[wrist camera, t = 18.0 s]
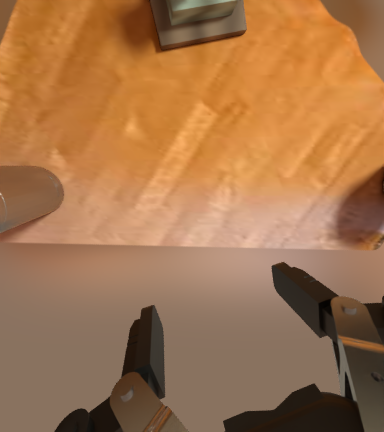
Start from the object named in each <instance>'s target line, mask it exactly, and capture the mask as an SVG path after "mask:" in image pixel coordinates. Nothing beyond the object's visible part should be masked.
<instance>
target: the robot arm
mask: <svg viewBox="0 0 384 432" xmlns="http://www.w3.org/2000/svg"><path fill="white" fill-rule="evenodd" d="M63 196H64V193H63V188H62V185H61V183H60V181H59V180H58V179H57V177H56V176H55V175H54V174H52V173H51V172H50V171H48V170H46V169H43V168H40V167H36V166H0V233H2V232H4V231H7V230H9V229H12V228H14V227H16V226H19V225H21V224H24V223H26V222H29V221H31V220H33V219H36V218H38V217H41V216H43V215H46V214H48V213H50V212H52V211H54V210H56V209H57V208H58V207H59V206H60V205H61V203H62V201H63ZM272 274H273V282H274V287H275V289H276V291H277V293H278V294H279V295H280V296H281V297H282V298H283V299H284V300H285V301H286V302H287V303H288V305H289V306H290V307H291V308H292V309H293V310H294V311H295V312H296V313H297V314H298V315H299V316H300V317H301V318H302V320H304V322H305V323H306V324H307V325H308V326H309V327H310V328H311V329H312V330H313V331H314V332H315V333H316V334H317V335H318V336H319V337H320V338H322V337H324V336H327V335H328V336H329V337H330V338H331V342H332V348H333V353H334V358H335V363H336V368H337V374H338V379H339V385H340V394H341V396H340V395H337V394H333V393H328V392H320V391H319V389H318V388H317V386H316V385H315V384H311V385H309V386H307V387H304V388H302V389H299V390H297V391H294V392H292V393H291V394H290V395H289V396H288V397H287V398H286V399H285V400H284V401H283V402H282V403H281V404H280V405H279V406H278V407H277V408H276V409H274V410H270V411H269V410H268V411H247V412H244V413H241V414H239V415H236V416H234V417H231V418H229V419H227V420H224V421H223V423H224V427H225V432H384V296H383V298H382V303H370V304H369V303H368V304H363V303H361V302H360V301H358V300H356V299H353V298H350V297H345V296H338V295H337V294H336V293H334V292H333V291H331V290H330V289H329V288H327V287H326V286H324V285H323V284H322V283H320V282H319V281H316V279H315V278H313V277H312V276H310V275H309V274H308V273H306V272H305V271H303V270H301V269H298V268H296V267H292V268H291V267H290V266H288V265H287V264H286V263H284V262H281V263H278V264H275V265H273V266H272ZM163 336H164V335H163V327H162V323H161V321H160V318H159V316H158V313H157V310H156V308H155V306H154V305H151V306H148V307H146V308H143V309H142V310H141V317H140V319H138V320H135V321H134V323H133V325H132V326H131V328H130V332H129V340H128V343H127V349H126V354H125V360H124V365H123V371H122V377H121V379H119V381H118V382H117V383H116V385H115V386H114V388H113V390H112V392H111V395H110V397H109V398H108V399H106V400H105V401H104V402H102V403H101V404H100V405H98V406H97V407H96V408H94V409H93V410H92V411H90V412H89V413H88V412H87V411H86V410H85V409H77V410H75V411H73V412H72V413H70V414H69V415H68V416H67V417H66V418H64V419H63V421H62V422H61V423H60V424H59V426H58V427H57V429H56V430H55V432H189V431H188V430H187V429H186V428H185V426H184V425H183V424H182V423H181V422H180V420H179V419H178V418H177V416H176V415H175V414H174V413H173V412H172V410H171V409H170V408H169V407H167V406H166V407H165V406H164V405H163V403H162V402H161V401H160V400H159V399H162V398H164V397H165V376H164V338H163Z"/></svg>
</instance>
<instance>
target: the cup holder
mask: <svg viewBox="0 0 384 432" xmlns="http://www.w3.org/2000/svg"><path fill="white" fill-rule="evenodd" d="M149 1H150V5H151V9H152V13H153V17H154V21H155V25H156V29H157V34H158V38H159V42H160V46H161V50H165V49H170V48H175V47H180V46H185V45H190V44H196V43H201V42H206V41H211V40H216V39H221V38H226V37H231V36H236V35H242V34H244V33H245V31H246V30H247V27H246V19H245V11H244V3H243V0H149Z"/></svg>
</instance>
